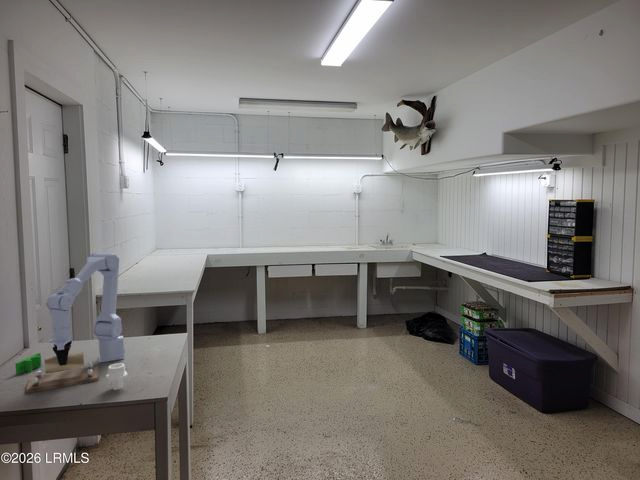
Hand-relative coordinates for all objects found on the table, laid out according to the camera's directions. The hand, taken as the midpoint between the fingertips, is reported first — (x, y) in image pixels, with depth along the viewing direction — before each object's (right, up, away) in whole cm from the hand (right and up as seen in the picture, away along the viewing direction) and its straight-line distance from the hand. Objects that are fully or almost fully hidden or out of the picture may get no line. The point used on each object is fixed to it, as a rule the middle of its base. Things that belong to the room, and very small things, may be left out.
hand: (63, 363), depth 158 cm
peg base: (0, -6, +1) cm, 6 cm away
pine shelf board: (0, -2, 0) cm, 2 cm away
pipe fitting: (+22, -7, -6) cm, 24 cm away
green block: (-19, -6, +12) cm, 23 cm away
